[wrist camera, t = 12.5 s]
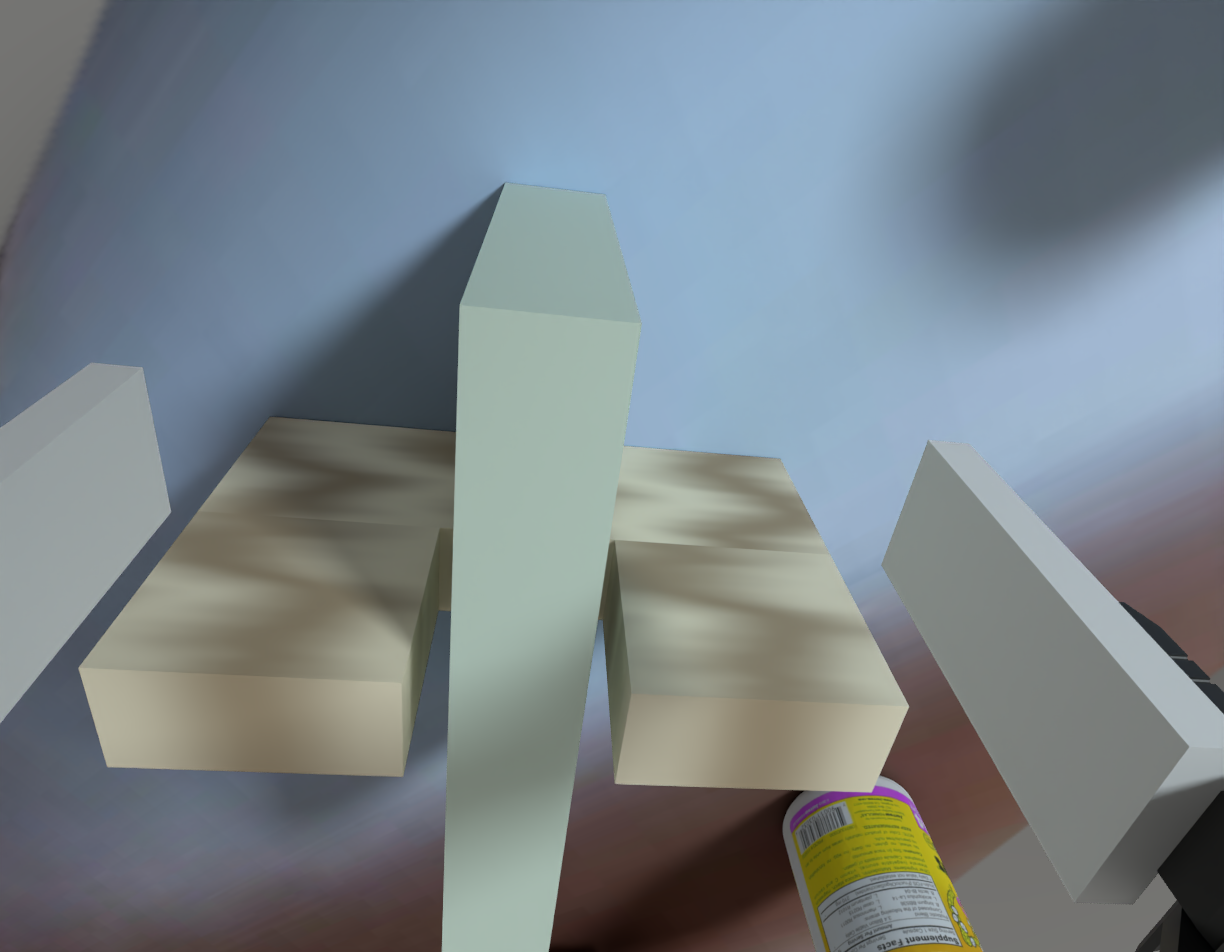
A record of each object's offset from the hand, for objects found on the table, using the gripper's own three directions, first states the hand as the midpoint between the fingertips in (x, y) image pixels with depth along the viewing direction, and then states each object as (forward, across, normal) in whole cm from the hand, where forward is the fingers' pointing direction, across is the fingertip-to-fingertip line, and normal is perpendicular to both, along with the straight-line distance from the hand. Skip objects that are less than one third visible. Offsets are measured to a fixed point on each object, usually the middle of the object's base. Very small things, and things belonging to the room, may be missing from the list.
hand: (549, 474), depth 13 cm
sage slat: (+13, 0, -8) cm, 15 cm away
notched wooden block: (+13, 0, -8) cm, 15 cm away
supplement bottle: (+13, +17, -26) cm, 33 cm away
